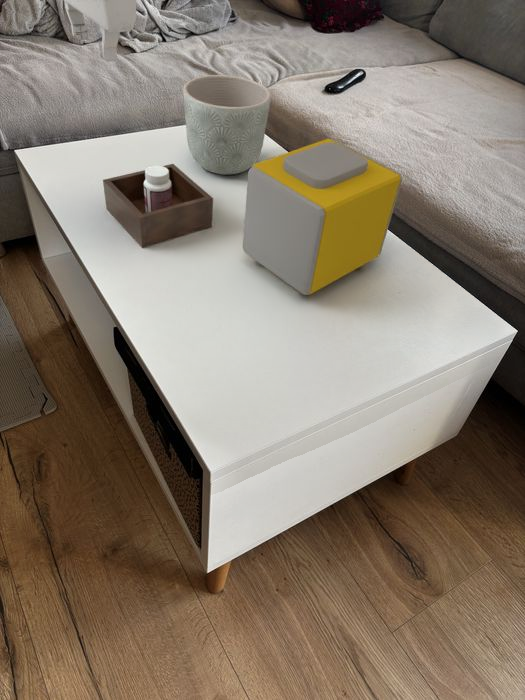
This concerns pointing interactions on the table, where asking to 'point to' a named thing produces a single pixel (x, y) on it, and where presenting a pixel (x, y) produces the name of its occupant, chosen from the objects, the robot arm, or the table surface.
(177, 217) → the holder
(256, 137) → the planter
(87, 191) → the table surface
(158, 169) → the pill bottle
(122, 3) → the robot arm
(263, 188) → the alarm clock
